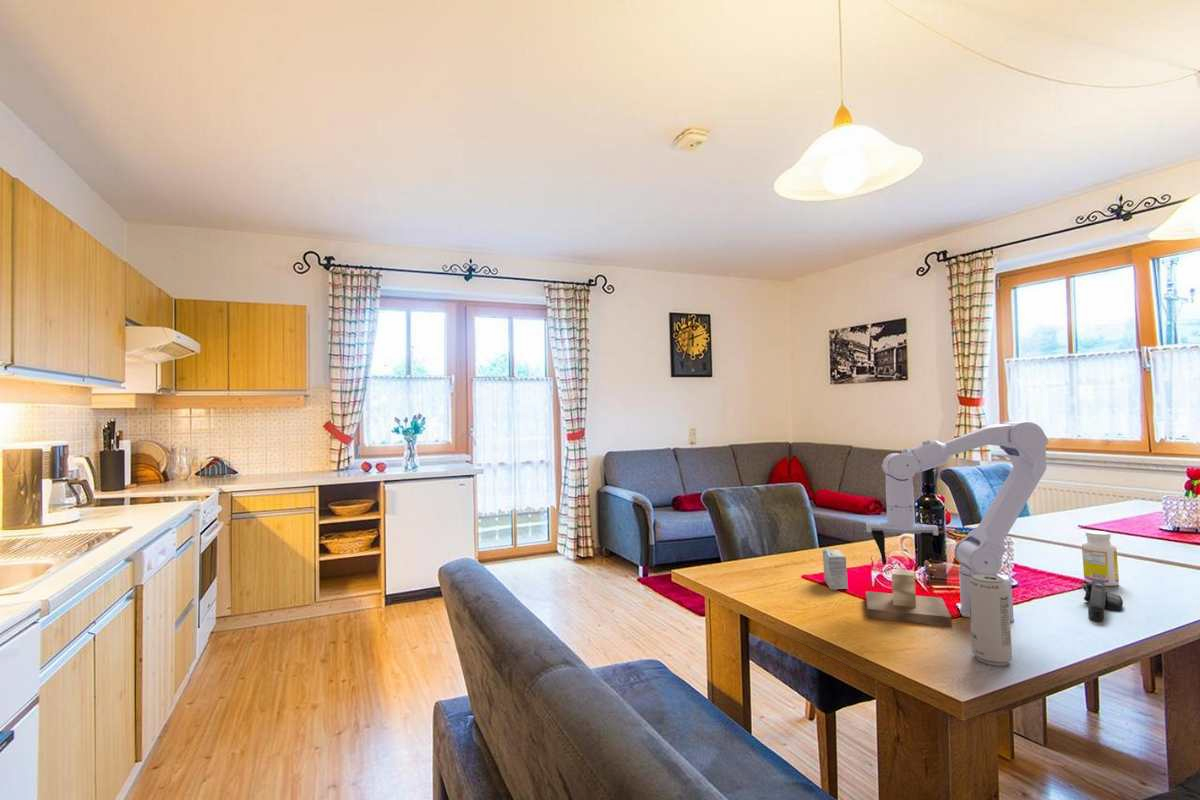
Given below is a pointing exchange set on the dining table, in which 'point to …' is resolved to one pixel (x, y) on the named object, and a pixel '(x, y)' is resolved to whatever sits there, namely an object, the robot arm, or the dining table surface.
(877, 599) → the taupe rectangular slab
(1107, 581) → the supplement bottle
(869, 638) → the dining table surface
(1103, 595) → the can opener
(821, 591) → the dining table surface
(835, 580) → the medicine box
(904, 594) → the maple block
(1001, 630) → the energy drink can
